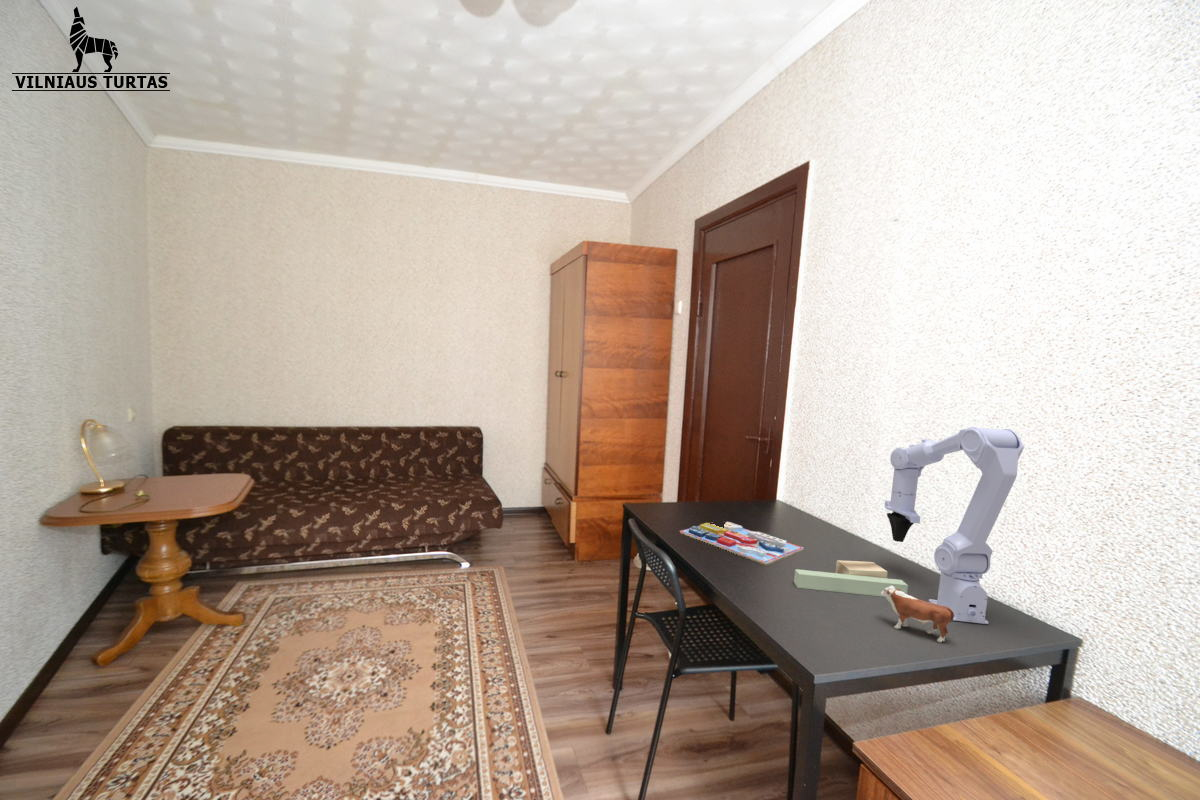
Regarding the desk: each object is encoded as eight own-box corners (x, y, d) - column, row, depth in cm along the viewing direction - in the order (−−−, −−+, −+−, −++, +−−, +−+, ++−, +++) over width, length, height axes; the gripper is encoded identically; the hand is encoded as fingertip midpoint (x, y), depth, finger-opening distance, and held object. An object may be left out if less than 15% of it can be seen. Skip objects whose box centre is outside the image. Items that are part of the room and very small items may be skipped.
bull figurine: (878, 615, 112) (882, 580, 111) (951, 639, 103) (956, 601, 103) (874, 622, 108) (879, 586, 108) (949, 647, 100) (954, 608, 99)
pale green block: (906, 599, 121) (907, 585, 121) (797, 587, 123) (799, 574, 123) (899, 593, 124) (901, 579, 124) (793, 582, 126) (795, 569, 126)
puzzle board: (804, 551, 151) (805, 543, 151) (766, 568, 136) (767, 559, 135) (719, 523, 174) (720, 515, 173) (678, 534, 158) (679, 526, 158)
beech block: (885, 590, 126) (887, 571, 125) (847, 588, 125) (849, 569, 125) (871, 580, 132) (873, 562, 131) (834, 578, 131) (836, 560, 131)
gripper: (876, 484, 143) (870, 530, 144) (902, 498, 128) (896, 549, 129) (901, 486, 142) (895, 533, 143) (931, 500, 128) (924, 551, 129)
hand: (898, 540), depth 136 cm, fingers closed
